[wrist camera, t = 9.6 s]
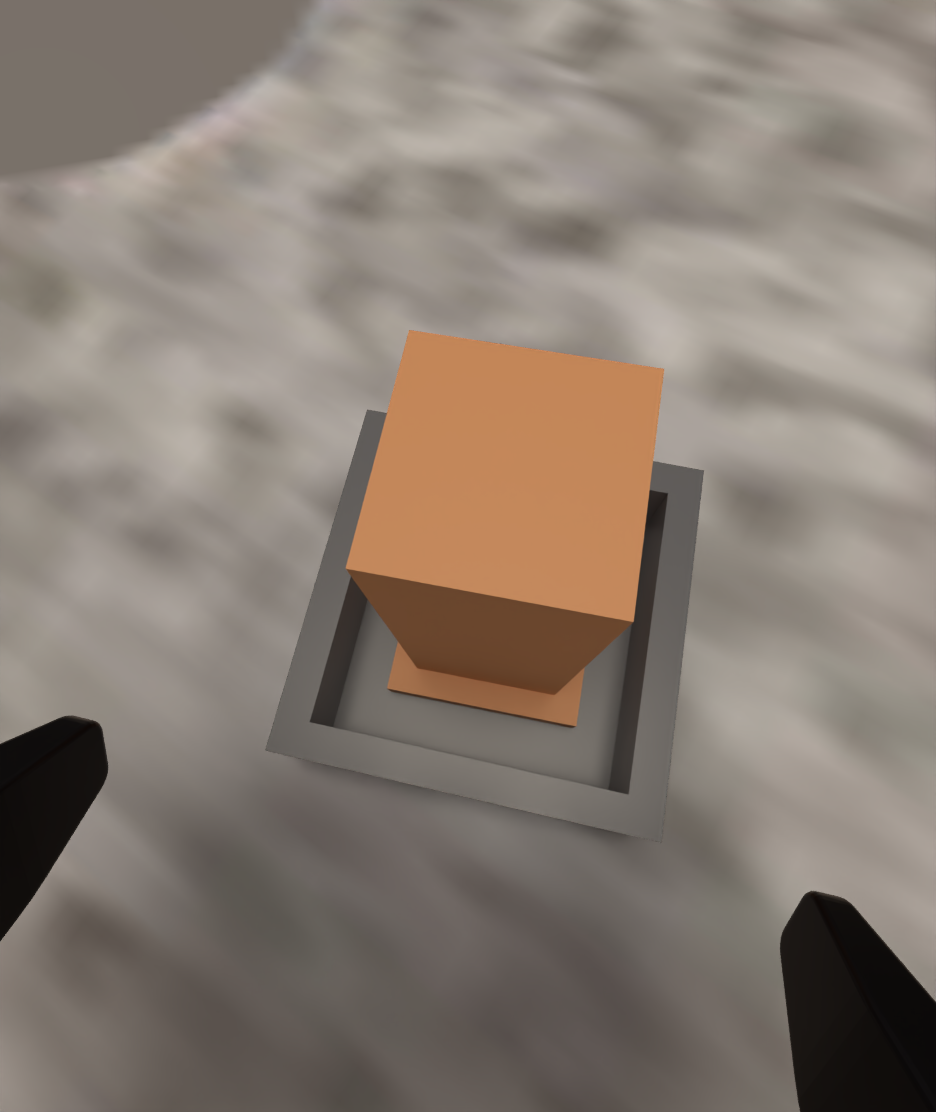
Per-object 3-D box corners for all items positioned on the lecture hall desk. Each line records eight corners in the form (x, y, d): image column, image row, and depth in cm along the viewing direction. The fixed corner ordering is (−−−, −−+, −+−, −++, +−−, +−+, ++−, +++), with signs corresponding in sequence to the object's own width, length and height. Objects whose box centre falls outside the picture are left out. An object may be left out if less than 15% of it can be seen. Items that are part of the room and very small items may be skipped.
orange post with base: (571, 728, 20) (683, 687, 9) (391, 691, 21) (280, 608, 10) (596, 554, 22) (716, 336, 11) (430, 524, 23) (375, 286, 11)
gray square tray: (631, 829, 20) (661, 842, 17) (299, 752, 21) (265, 750, 18) (672, 511, 23) (703, 470, 20) (383, 457, 24) (367, 409, 21)
